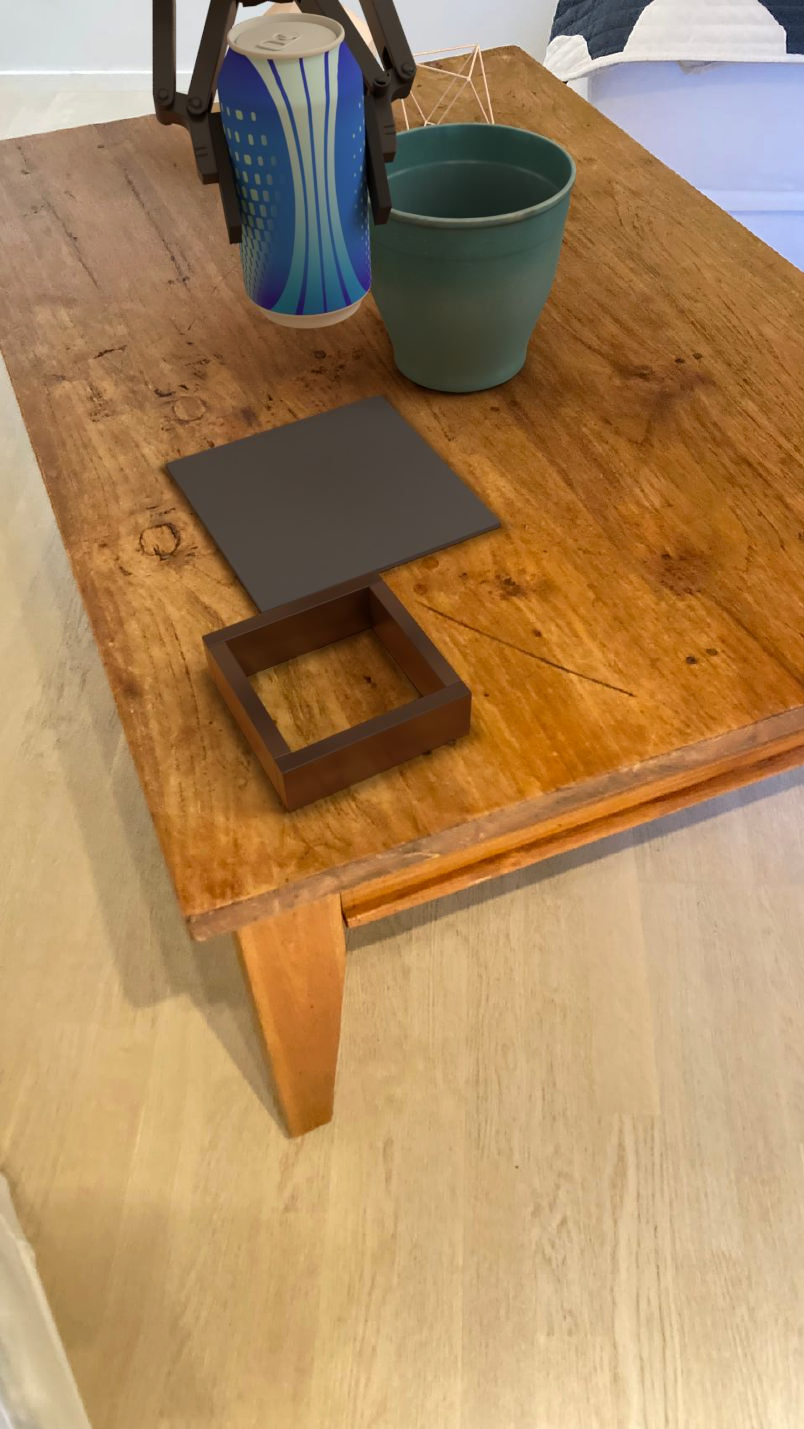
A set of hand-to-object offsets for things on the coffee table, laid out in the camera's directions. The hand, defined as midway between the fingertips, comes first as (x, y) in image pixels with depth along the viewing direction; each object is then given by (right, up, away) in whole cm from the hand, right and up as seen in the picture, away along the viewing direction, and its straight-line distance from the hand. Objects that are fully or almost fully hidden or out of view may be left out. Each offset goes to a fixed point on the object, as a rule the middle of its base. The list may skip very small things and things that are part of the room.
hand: (310, 225), depth 64 cm
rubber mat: (0, -12, +20) cm, 24 cm away
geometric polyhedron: (+11, +39, +64) cm, 76 cm away
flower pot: (+11, +3, +33) cm, 35 cm away
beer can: (-1, -2, +7) cm, 8 cm away
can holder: (+1, -29, +6) cm, 30 cm away
